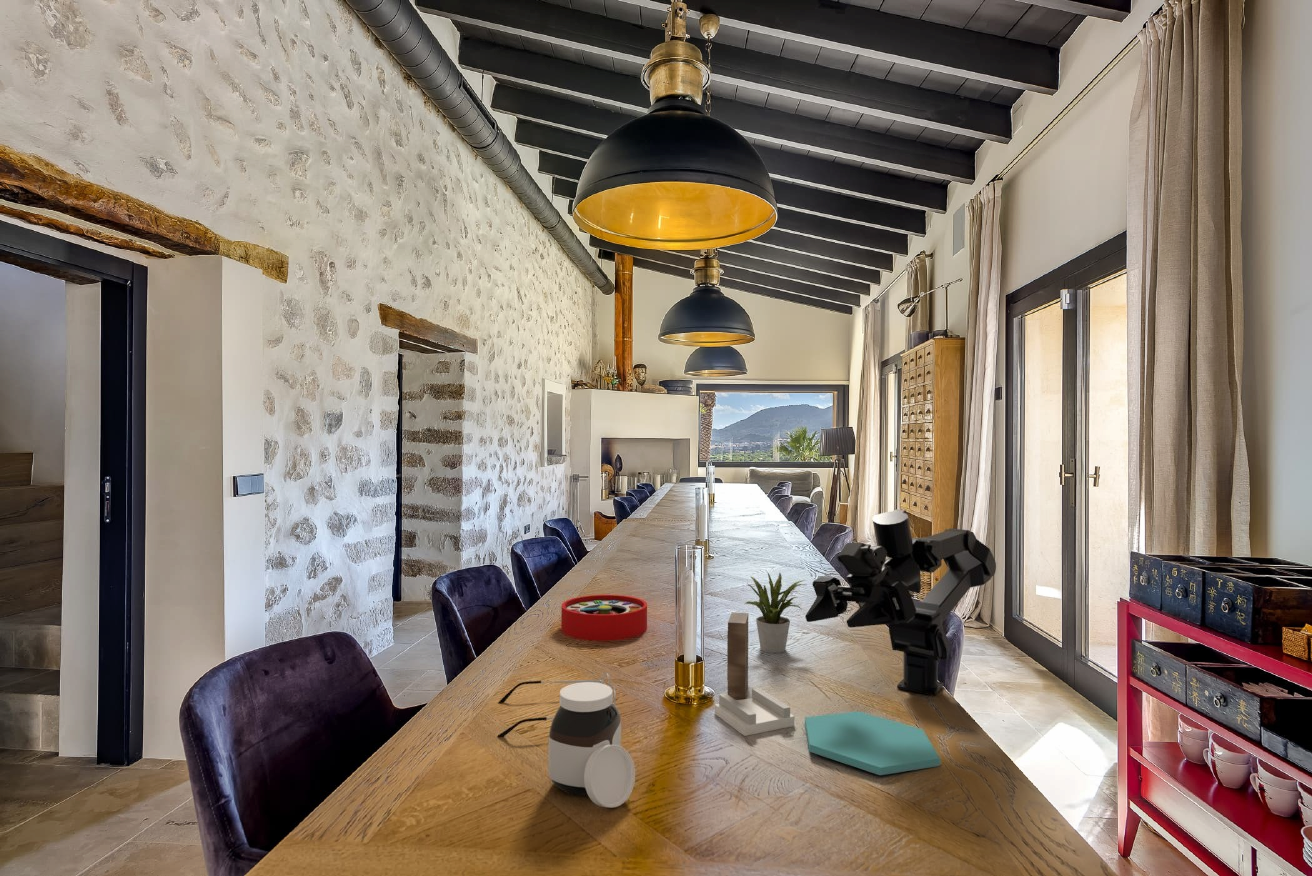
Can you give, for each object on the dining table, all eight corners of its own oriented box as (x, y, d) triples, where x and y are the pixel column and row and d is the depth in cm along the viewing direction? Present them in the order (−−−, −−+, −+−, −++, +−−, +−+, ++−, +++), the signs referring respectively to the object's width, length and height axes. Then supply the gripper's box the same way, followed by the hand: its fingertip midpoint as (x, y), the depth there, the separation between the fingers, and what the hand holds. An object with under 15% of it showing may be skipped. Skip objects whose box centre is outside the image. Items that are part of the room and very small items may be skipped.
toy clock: (658, 611, 153) (569, 618, 147) (657, 637, 153) (569, 645, 147) (634, 592, 172) (555, 597, 166) (634, 615, 172) (555, 621, 166)
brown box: (748, 685, 122) (748, 613, 122) (745, 700, 115) (745, 623, 116) (730, 684, 123) (730, 612, 123) (726, 698, 116) (727, 622, 116)
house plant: (817, 662, 135) (817, 580, 135) (747, 661, 135) (747, 579, 135) (803, 641, 149) (803, 566, 149) (739, 640, 150) (740, 566, 150)
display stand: (762, 705, 113) (762, 687, 113) (794, 725, 105) (794, 706, 105) (714, 713, 110) (714, 695, 110) (744, 736, 101) (744, 715, 101)
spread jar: (577, 759, 94) (578, 674, 94) (653, 774, 90) (654, 686, 90) (530, 802, 83) (531, 706, 83) (615, 822, 78) (616, 720, 78)
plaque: (884, 720, 110) (776, 733, 103) (884, 708, 110) (776, 719, 103) (968, 768, 94) (847, 787, 87) (968, 753, 94) (847, 771, 87)
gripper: (833, 535, 122) (771, 572, 114) (918, 533, 106) (853, 575, 98) (854, 593, 123) (793, 633, 115) (942, 599, 107) (879, 647, 99)
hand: (826, 621), depth 107 cm, fingers open, 9 cm apart
